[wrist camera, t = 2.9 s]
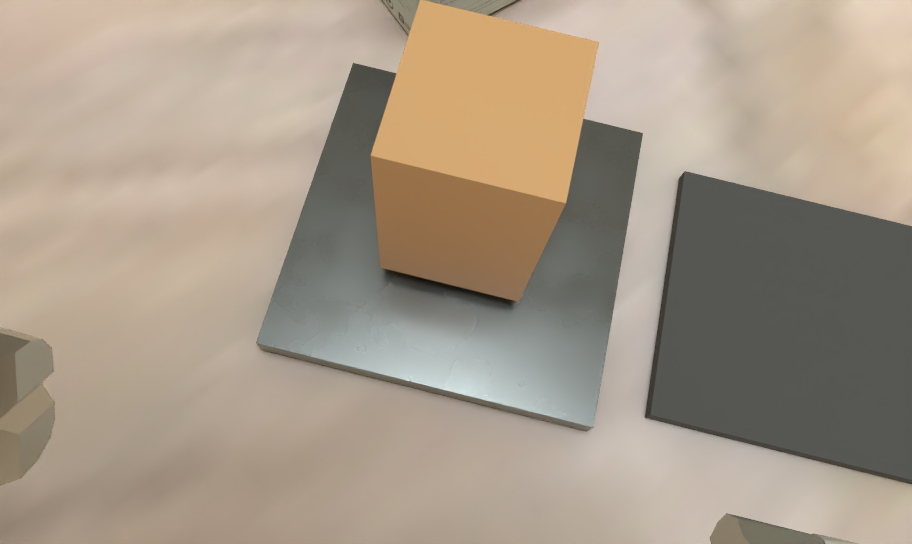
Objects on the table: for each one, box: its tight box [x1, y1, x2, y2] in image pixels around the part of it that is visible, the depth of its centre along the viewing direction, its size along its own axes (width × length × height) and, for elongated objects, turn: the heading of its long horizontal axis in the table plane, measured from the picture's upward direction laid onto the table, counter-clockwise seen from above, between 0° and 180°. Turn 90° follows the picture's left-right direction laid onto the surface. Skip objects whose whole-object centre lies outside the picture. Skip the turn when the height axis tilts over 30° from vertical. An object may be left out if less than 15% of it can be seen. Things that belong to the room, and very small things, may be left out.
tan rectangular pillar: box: [371, 0, 599, 301], centre depth 23 cm, size 5×5×8 cm
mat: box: [645, 171, 912, 484], centre depth 28 cm, size 10×10×1 cm
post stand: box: [256, 63, 643, 431], centre depth 24 cm, size 12×12×9 cm
